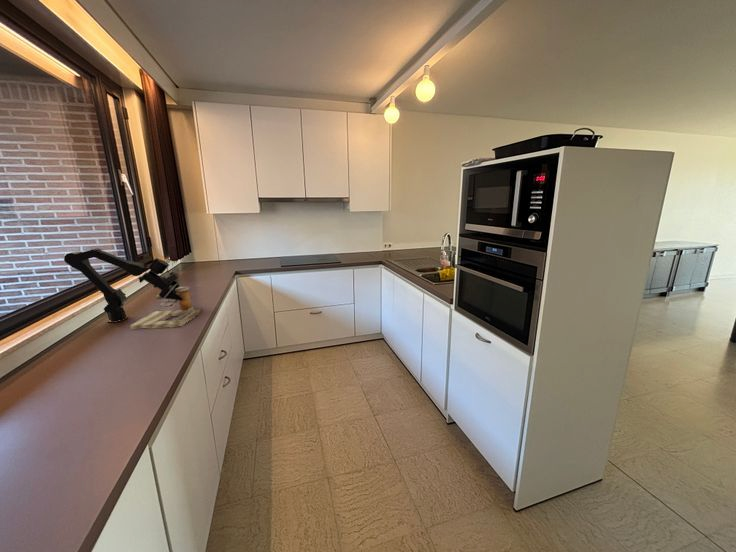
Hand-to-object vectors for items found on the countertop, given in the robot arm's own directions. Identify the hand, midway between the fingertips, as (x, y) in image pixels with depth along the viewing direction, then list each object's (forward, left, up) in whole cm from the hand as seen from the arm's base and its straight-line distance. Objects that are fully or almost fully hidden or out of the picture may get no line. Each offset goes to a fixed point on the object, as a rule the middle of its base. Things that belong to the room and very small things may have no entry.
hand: (184, 297), depth 166 cm
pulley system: (-21, +22, -8) cm, 31 cm away
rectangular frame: (-2, -14, -8) cm, 16 cm away
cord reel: (0, 0, -8) cm, 8 cm away
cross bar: (+6, -14, -6) cm, 16 cm away
